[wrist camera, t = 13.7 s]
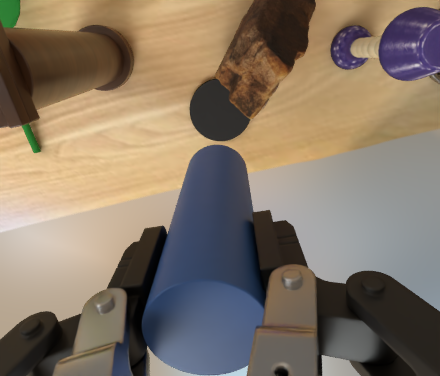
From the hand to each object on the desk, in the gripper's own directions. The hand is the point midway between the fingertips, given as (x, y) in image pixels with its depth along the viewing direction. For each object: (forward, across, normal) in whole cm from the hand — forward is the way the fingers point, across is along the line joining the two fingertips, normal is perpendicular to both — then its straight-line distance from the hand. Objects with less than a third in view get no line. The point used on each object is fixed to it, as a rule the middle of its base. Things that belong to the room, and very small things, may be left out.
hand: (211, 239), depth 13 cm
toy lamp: (+27, -14, -4) cm, 31 cm away
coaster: (+27, 0, 0) cm, 27 cm away
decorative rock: (+27, -6, -6) cm, 28 cm away
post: (+27, +12, -8) cm, 30 cm away
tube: (+1, 0, 0) cm, 1 cm away
